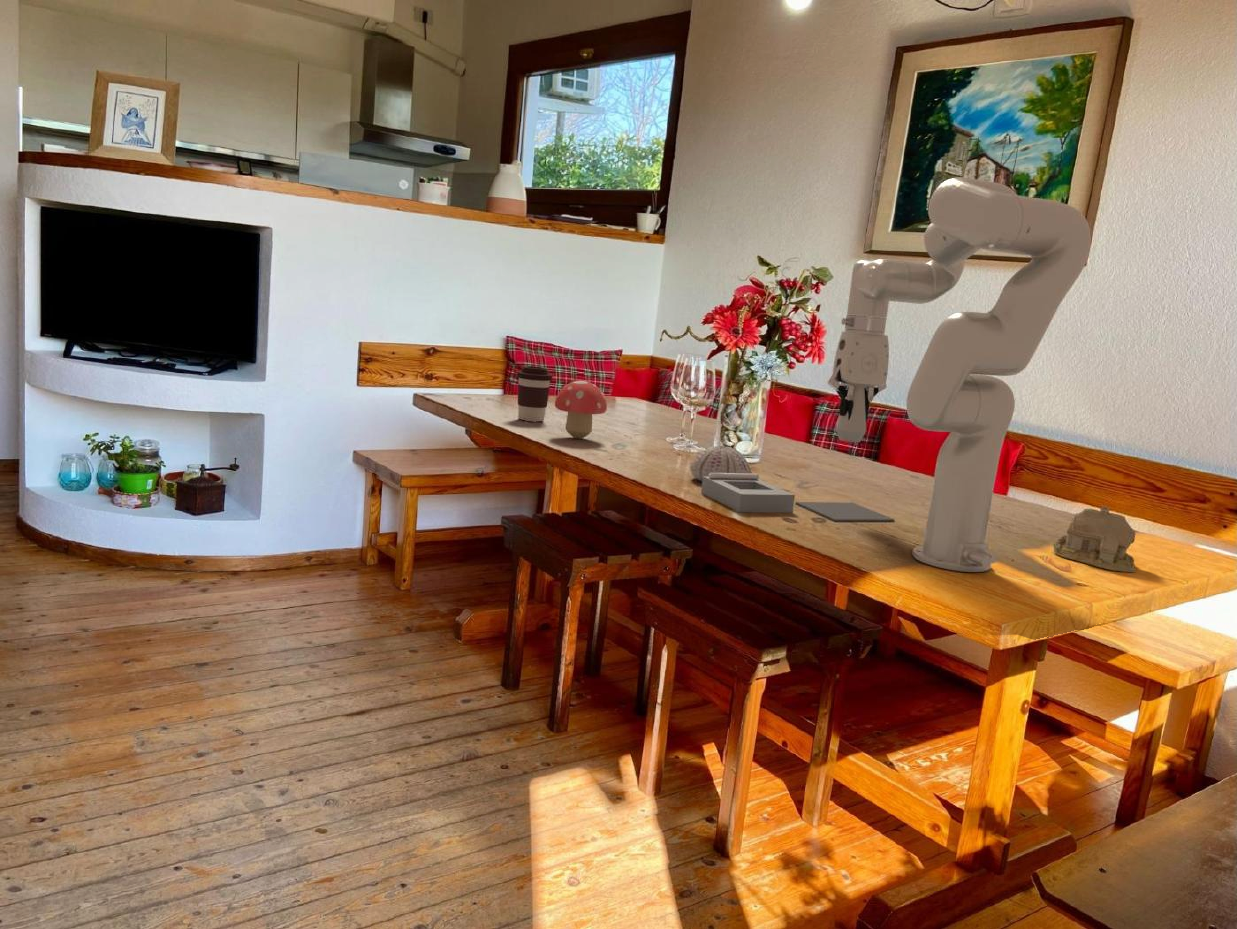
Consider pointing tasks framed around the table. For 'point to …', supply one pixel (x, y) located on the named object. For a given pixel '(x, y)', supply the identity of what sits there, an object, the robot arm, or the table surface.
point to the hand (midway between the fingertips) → (852, 419)
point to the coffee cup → (533, 392)
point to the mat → (843, 511)
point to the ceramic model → (1098, 540)
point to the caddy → (746, 493)
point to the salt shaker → (854, 418)
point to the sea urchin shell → (719, 462)
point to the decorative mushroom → (580, 406)
